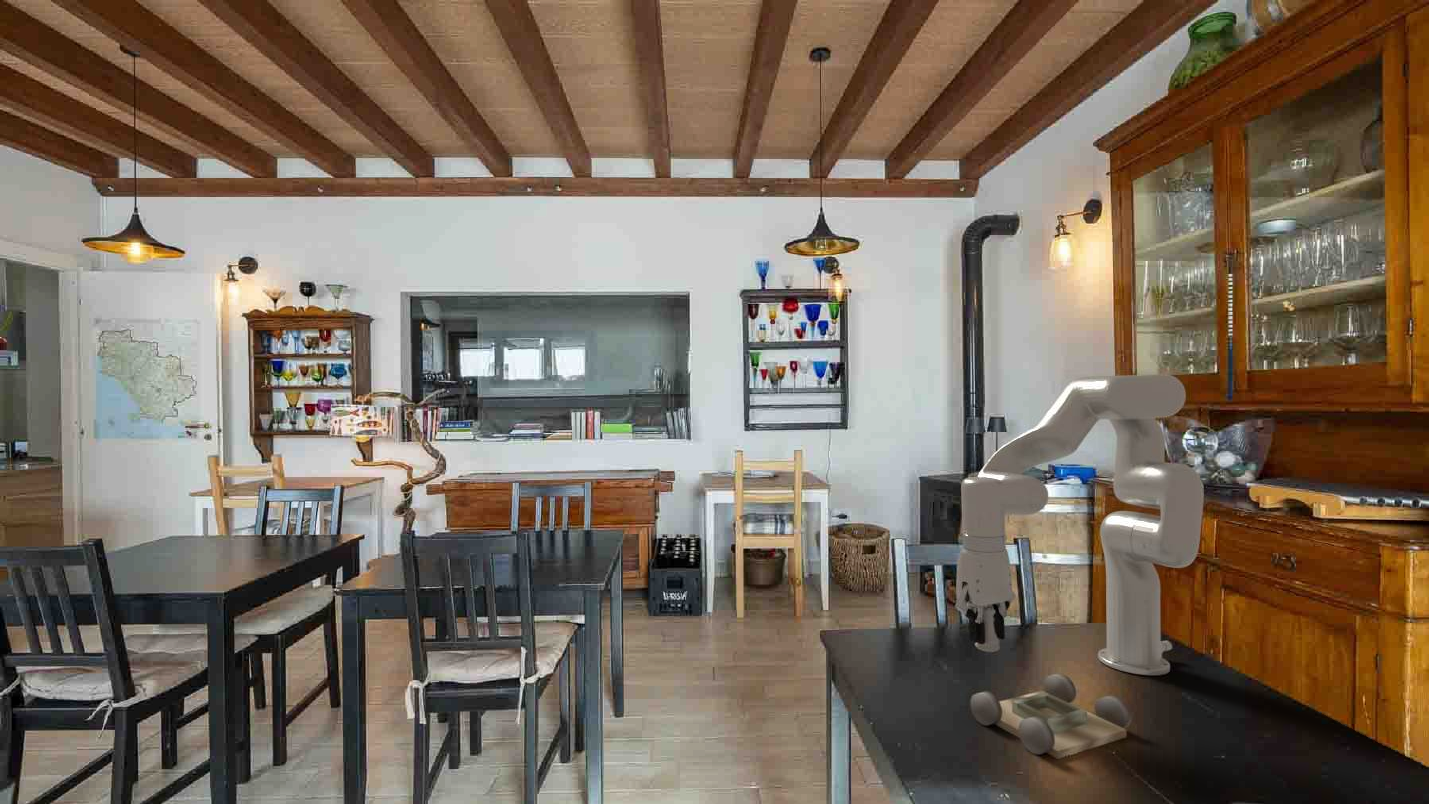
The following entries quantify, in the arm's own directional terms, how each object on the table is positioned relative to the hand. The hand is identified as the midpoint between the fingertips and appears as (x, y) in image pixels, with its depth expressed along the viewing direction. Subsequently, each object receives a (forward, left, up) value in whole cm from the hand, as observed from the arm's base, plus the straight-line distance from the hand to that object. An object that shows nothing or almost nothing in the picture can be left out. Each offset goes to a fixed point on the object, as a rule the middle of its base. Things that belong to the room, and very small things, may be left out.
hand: (987, 638), depth 124 cm
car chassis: (+1, +14, -10) cm, 17 cm away
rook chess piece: (0, 0, -2) cm, 2 cm away
